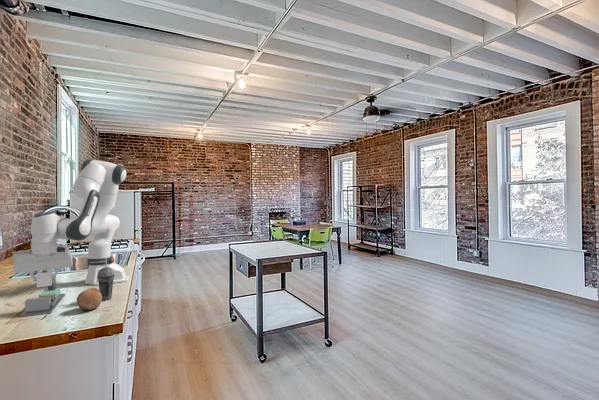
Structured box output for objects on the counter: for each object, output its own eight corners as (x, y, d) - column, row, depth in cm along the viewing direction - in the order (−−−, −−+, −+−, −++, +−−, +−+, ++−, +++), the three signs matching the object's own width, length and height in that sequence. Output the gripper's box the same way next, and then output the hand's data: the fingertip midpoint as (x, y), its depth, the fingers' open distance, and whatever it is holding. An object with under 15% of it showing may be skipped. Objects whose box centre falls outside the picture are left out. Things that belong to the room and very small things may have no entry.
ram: (60, 294, 155) (60, 278, 155) (54, 300, 146) (54, 283, 146) (45, 295, 153) (45, 279, 153) (38, 302, 143) (38, 285, 143)
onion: (94, 312, 142) (101, 290, 146) (101, 311, 136) (108, 288, 141) (70, 310, 136) (78, 286, 140) (76, 309, 130) (85, 284, 134)
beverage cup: (96, 302, 146) (96, 260, 146) (97, 298, 153) (98, 257, 153) (114, 300, 150) (114, 259, 149) (115, 296, 156) (115, 256, 156)
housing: (51, 285, 137) (51, 269, 137) (36, 287, 134) (36, 270, 134) (52, 282, 141) (51, 267, 141) (37, 284, 138) (37, 268, 138)
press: (65, 295, 156) (65, 283, 156) (50, 313, 133) (50, 299, 133) (39, 298, 152) (39, 286, 152) (20, 317, 129) (20, 302, 128)
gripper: (11, 252, 129) (11, 285, 129) (72, 247, 141) (72, 277, 141) (13, 250, 134) (13, 282, 134) (72, 245, 146) (72, 275, 146)
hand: (44, 279), depth 138 cm, fingers closed on housing, 5 cm apart
